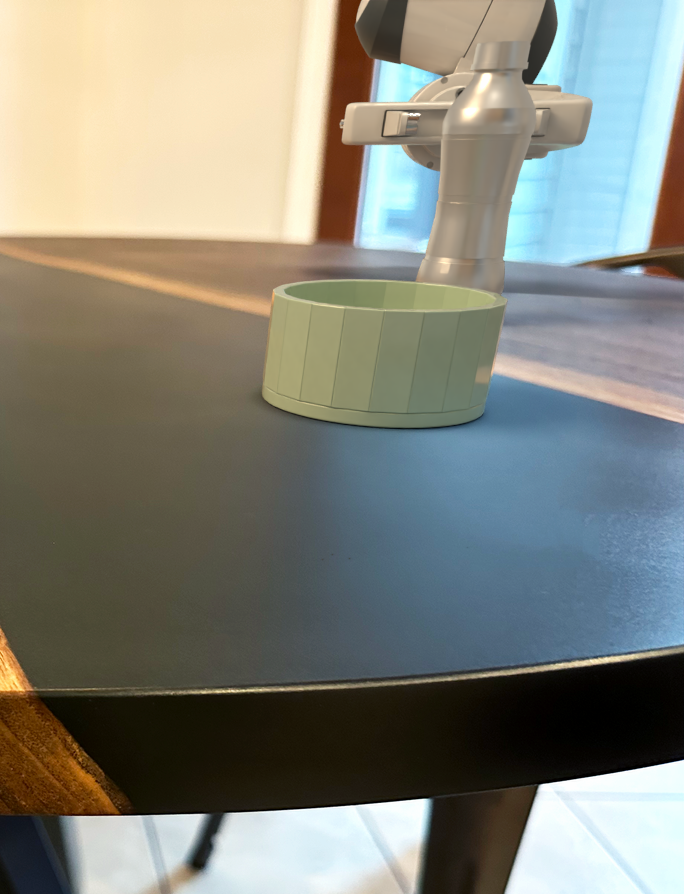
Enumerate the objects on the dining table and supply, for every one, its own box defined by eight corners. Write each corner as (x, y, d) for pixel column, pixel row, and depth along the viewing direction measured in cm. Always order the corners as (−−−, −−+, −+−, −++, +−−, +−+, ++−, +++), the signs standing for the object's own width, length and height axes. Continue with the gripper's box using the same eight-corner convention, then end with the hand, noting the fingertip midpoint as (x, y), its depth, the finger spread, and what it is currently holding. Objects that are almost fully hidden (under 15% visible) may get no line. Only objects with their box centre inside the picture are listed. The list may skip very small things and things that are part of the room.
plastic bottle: (500, 316, 83) (556, 43, 75) (492, 329, 78) (551, 37, 70) (416, 310, 86) (461, 47, 79) (402, 322, 81) (449, 42, 73)
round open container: (416, 375, 64) (433, 277, 62) (530, 425, 53) (557, 308, 51) (232, 380, 63) (243, 281, 61) (311, 431, 52) (327, 313, 50)
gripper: (344, 89, 101) (345, 84, 89) (578, 85, 94) (614, 79, 83) (334, 157, 103) (334, 162, 91) (562, 158, 97) (594, 162, 85)
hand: (469, 122), depth 87 cm, fingers open, 8 cm apart
